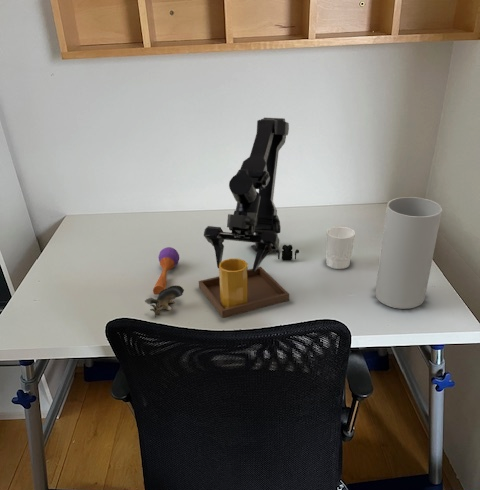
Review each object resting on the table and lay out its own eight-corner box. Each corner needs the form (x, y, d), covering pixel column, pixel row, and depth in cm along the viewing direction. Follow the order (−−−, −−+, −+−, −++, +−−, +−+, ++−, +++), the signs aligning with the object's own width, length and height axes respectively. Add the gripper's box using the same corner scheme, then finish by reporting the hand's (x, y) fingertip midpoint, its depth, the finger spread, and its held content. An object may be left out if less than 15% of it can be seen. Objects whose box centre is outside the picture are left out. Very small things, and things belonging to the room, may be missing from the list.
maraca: (145, 283, 141) (157, 245, 156) (152, 301, 144) (163, 262, 160) (166, 280, 140) (177, 241, 155) (173, 298, 143) (182, 259, 159)
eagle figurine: (173, 318, 132) (191, 296, 137) (155, 297, 129) (173, 274, 135) (155, 325, 137) (172, 302, 143) (137, 304, 134) (155, 282, 140)
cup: (216, 300, 139) (214, 262, 133) (241, 294, 141) (240, 256, 135) (227, 313, 134) (225, 274, 128) (252, 306, 136) (251, 267, 130)
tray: (199, 290, 145) (198, 281, 144) (260, 275, 152) (260, 266, 150) (222, 320, 133) (222, 311, 131) (288, 303, 139) (289, 293, 137)
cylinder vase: (366, 289, 144) (377, 200, 130) (407, 282, 146) (423, 194, 133) (389, 313, 134) (404, 220, 120) (433, 305, 136) (453, 213, 123)
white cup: (351, 271, 152) (354, 239, 147) (323, 269, 154) (325, 237, 148) (352, 258, 159) (355, 227, 153) (325, 256, 160) (327, 225, 155)
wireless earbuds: (275, 261, 158) (275, 245, 156) (275, 257, 160) (275, 242, 158) (298, 261, 158) (299, 246, 155) (298, 257, 160) (299, 242, 157)
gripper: (203, 195, 132) (191, 255, 129) (278, 201, 128) (267, 263, 125) (214, 213, 143) (204, 269, 140) (283, 219, 138) (273, 277, 135)
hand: (235, 269), depth 135 cm, fingers open, 9 cm apart
